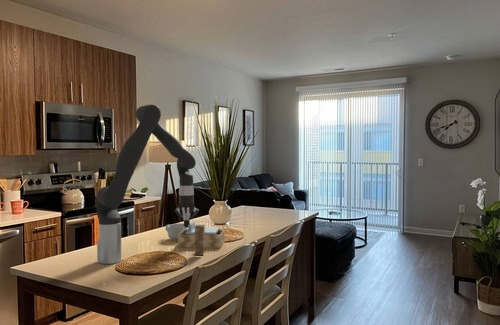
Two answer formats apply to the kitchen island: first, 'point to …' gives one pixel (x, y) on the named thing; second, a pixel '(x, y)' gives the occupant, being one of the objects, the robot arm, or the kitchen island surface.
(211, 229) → the lid
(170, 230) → the teacup
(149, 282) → the kitchen island surface
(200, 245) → the brown rectangular block
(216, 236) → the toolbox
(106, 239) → the robot arm
